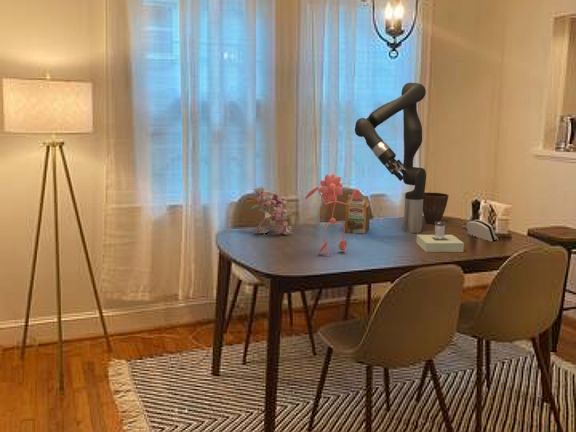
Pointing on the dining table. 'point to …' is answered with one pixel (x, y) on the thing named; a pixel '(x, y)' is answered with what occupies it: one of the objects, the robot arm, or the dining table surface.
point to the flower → (277, 212)
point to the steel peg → (439, 230)
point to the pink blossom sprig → (331, 192)
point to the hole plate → (440, 244)
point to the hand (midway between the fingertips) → (405, 178)
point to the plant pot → (434, 206)
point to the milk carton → (357, 215)
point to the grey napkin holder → (481, 230)
